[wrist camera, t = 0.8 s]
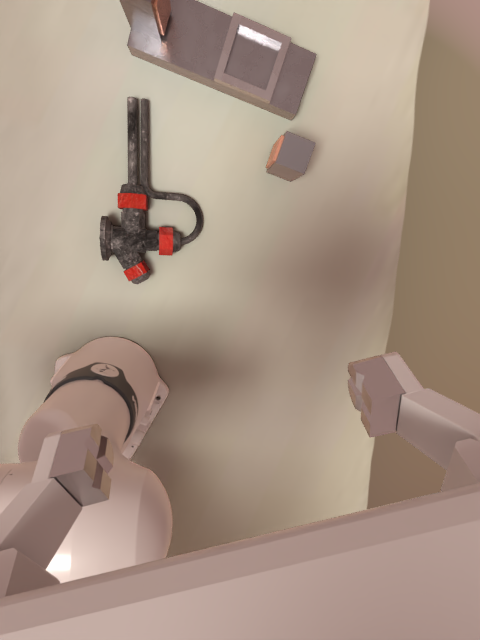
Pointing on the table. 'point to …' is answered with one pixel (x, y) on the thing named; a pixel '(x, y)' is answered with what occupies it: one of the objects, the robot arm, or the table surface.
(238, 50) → the grey base with post
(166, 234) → the valve
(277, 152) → the block
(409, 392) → the robot arm
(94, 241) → the table surface
